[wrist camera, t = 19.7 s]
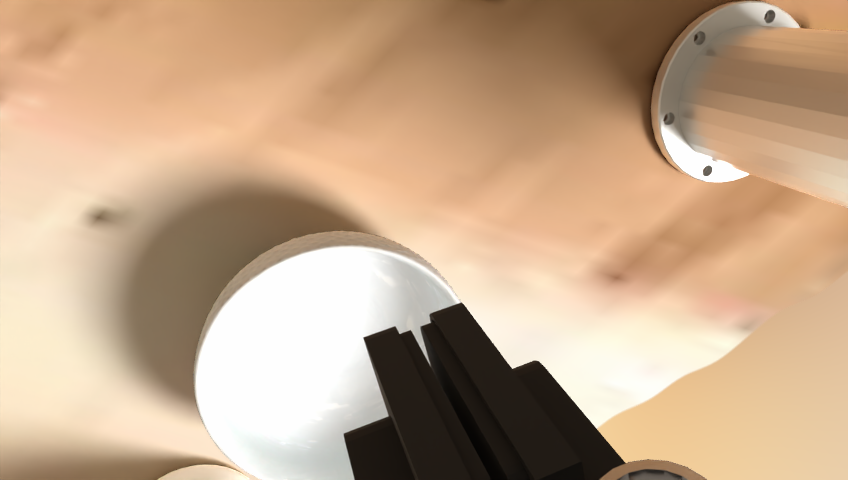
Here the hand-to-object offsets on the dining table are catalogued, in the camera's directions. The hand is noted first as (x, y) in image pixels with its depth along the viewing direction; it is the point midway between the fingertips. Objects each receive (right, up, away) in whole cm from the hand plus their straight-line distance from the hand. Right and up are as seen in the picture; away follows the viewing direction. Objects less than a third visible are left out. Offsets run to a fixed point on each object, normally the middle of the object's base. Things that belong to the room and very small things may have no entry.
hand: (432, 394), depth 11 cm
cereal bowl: (-7, -3, +34) cm, 35 cm away
